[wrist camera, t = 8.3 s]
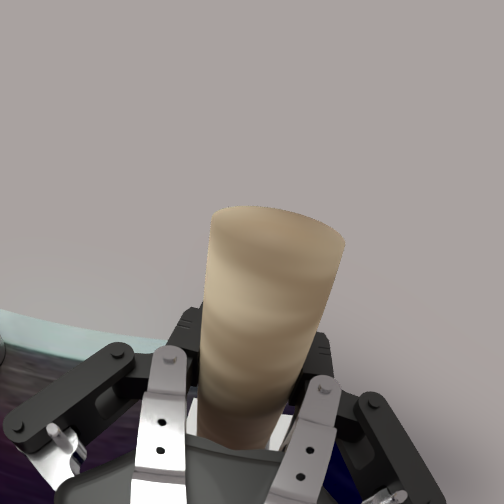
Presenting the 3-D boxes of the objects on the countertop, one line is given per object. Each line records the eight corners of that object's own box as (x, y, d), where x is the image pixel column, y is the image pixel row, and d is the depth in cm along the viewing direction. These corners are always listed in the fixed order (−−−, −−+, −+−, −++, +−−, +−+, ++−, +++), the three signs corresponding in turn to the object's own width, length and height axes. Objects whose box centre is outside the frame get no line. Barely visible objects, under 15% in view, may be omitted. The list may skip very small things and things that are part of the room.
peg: (189, 465, 12) (192, 235, 6) (204, 415, 16) (227, 199, 10) (257, 478, 12) (359, 268, 6) (264, 427, 16) (333, 220, 10)
